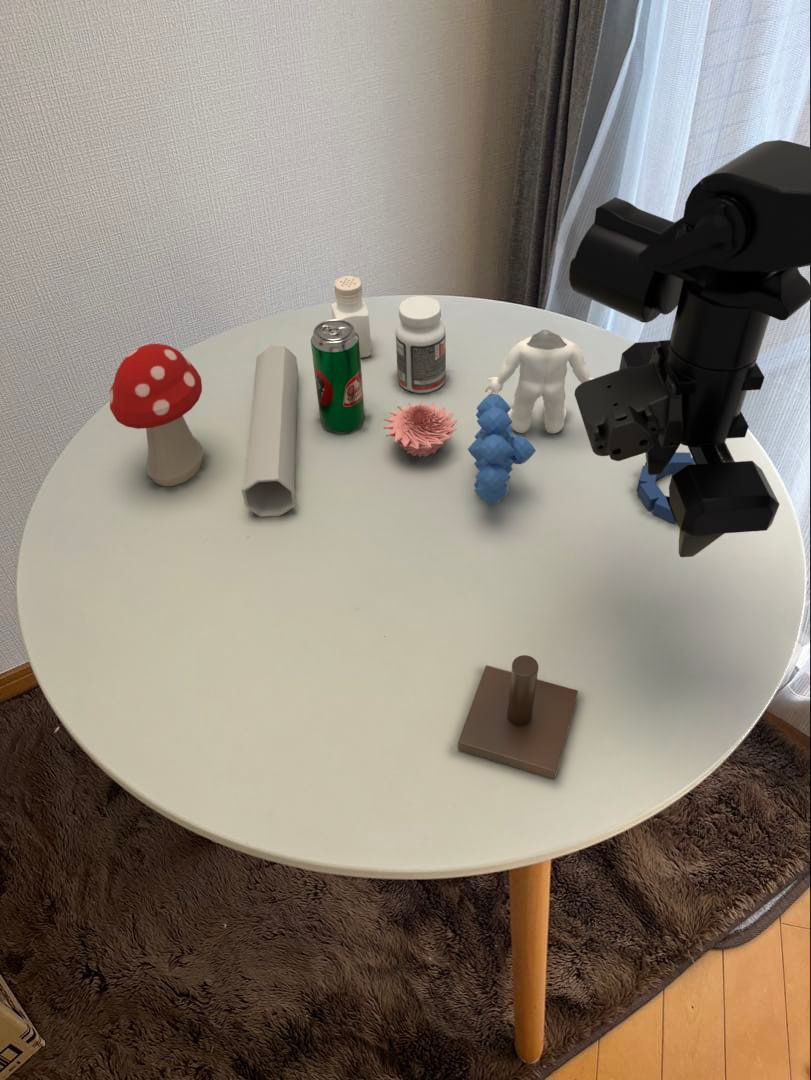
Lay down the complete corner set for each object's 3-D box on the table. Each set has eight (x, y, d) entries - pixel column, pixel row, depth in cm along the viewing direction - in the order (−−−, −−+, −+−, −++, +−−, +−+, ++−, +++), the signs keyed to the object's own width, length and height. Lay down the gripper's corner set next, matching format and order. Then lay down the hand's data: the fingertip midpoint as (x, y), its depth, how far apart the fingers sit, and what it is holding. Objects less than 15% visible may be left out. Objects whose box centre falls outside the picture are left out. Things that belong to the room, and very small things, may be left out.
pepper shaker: (372, 358, 110) (368, 289, 103) (340, 363, 110) (333, 294, 103) (365, 340, 113) (361, 271, 106) (334, 344, 112) (327, 276, 105)
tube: (247, 344, 106) (232, 488, 89) (288, 330, 105) (281, 472, 87) (267, 379, 110) (257, 523, 92) (307, 365, 108) (304, 508, 91)
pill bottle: (453, 373, 108) (454, 300, 100) (433, 399, 104) (433, 326, 97) (410, 361, 109) (408, 289, 102) (389, 387, 106) (385, 314, 99)
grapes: (534, 535, 89) (544, 442, 80) (465, 533, 89) (468, 441, 81) (529, 457, 97) (538, 365, 88) (466, 456, 97) (469, 364, 89)
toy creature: (588, 409, 102) (602, 318, 94) (593, 443, 98) (608, 351, 89) (482, 408, 103) (486, 317, 94) (483, 442, 99) (487, 351, 90)
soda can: (355, 439, 100) (347, 348, 91) (313, 430, 101) (301, 339, 92) (371, 411, 103) (365, 321, 94) (330, 403, 104) (320, 313, 95)
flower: (448, 479, 95) (449, 438, 91) (375, 468, 96) (373, 428, 92) (463, 431, 100) (464, 391, 96) (393, 422, 101) (391, 382, 97)
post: (576, 698, 76) (588, 639, 70) (554, 779, 71) (565, 723, 65) (485, 672, 78) (489, 613, 72) (457, 750, 73) (459, 693, 67)
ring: (734, 473, 94) (738, 462, 93) (724, 535, 88) (728, 523, 87) (646, 455, 97) (648, 444, 95) (630, 514, 91) (632, 502, 89)
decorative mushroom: (173, 430, 102) (142, 315, 91) (236, 452, 99) (211, 335, 88) (116, 484, 96) (74, 368, 85) (181, 509, 93) (147, 392, 82)
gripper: (566, 279, 66) (546, 442, 77) (627, 445, 53) (593, 611, 64) (716, 270, 66) (675, 434, 77) (813, 433, 53) (746, 601, 65)
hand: (669, 512), depth 71 cm, fingers open, 9 cm apart
